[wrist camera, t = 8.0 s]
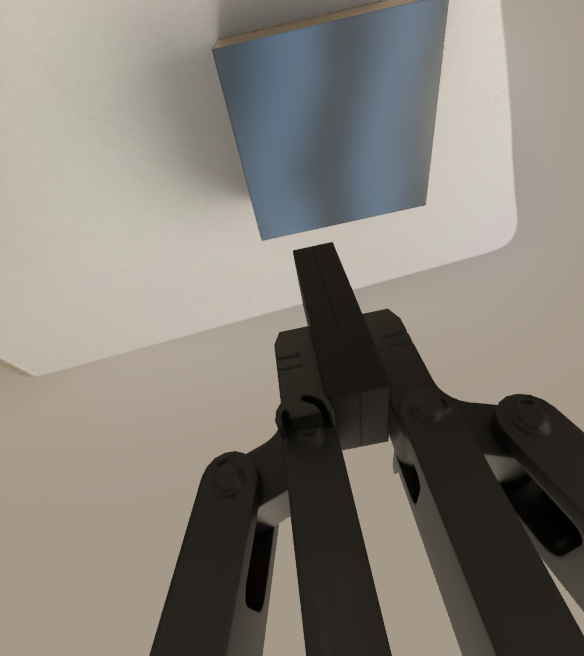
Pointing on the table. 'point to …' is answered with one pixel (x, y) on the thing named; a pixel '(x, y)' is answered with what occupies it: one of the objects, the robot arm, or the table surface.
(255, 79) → the blue lid
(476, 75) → the table surface
